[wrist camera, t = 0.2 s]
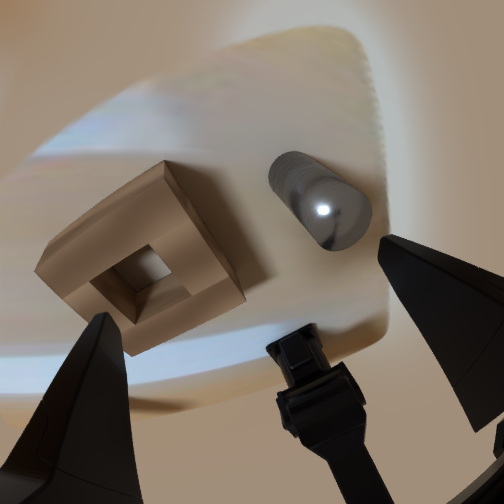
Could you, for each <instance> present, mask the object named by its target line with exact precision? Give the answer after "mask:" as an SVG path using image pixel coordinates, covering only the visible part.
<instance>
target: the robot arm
mask: <svg viewBox="0 0 504 504" xmlns="http://www.w3.org/2000/svg"><path fill="white" fill-rule="evenodd" d="M378 262H379V264H380V266H381V268H382V269H383V271H384V273H385V275H386V277H387V278H388V280H389V282H390V284H391V286H392V287H393V289H394V291H395V293H396V295H397V296H398V298H399V300H400V301H401V303H402V304H403V306H404V307H405V309H406V310H407V312H408V313H409V315H410V316H411V318H412V320H413V321H414V323H415V324H416V326H417V327H418V328H419V330H420V332H421V334H422V335H423V337H424V339H425V340H426V342H427V344H428V345H429V347H430V349H431V350H432V352H433V354H434V355H435V357H436V359H437V361H438V362H439V364H440V366H441V368H442V369H443V371H444V373H445V375H446V377H447V378H448V380H449V382H450V384H451V386H452V387H453V390H454V392H455V394H456V396H457V398H458V399H459V401H460V403H461V405H462V407H463V409H464V411H465V414H466V416H467V418H468V420H469V422H470V424H471V426H472V428H473V430H474V432H475V433H476V432H478V431H479V430H480V429H482V428H483V427H485V426H486V425H487V424H488V423H490V422H491V421H492V420H494V419H495V418H496V417H497V416H499V415H500V414H501V413H503V412H504V277H501V276H499V275H497V274H494V273H492V272H489V271H487V270H484V269H482V268H480V267H479V268H478V267H477V266H475V265H472V264H470V263H467V262H465V261H462V260H460V259H457V258H455V257H452V256H450V255H447V254H445V253H442V252H439V251H437V250H434V249H432V248H429V247H426V246H424V245H421V244H418V243H415V242H413V241H410V240H407V239H404V238H401V237H399V236H396V235H393V234H390V235H386V236H383V237H382V238H381V239H380V244H379V250H378ZM322 348H323V346H322V344H321V342H320V339H319V337H318V335H317V333H316V331H315V328H314V326H313V325H312V324H309V325H307V326H305V327H303V328H301V329H299V330H297V331H296V332H294V333H292V334H290V335H288V336H286V337H284V338H282V339H280V340H278V341H276V342H274V343H272V344H270V345H268V346H267V347H266V351H267V352H268V354H269V355H270V356H271V357H272V358H273V360H274V361H275V362H276V363H277V364H278V365H279V367H280V368H281V371H282V373H283V375H284V378H285V380H286V383H287V385H288V387H289V388H288V389H286V390H284V391H282V392H281V391H280V392H278V393H277V396H278V398H277V399H276V402H277V405H278V407H279V410H280V414H281V420H282V425H283V428H284V429H285V430H288V431H289V432H290V433H291V434H292V435H293V436H294V437H295V438H297V437H299V439H300V441H301V443H302V445H303V446H305V447H306V448H308V449H309V450H311V451H312V452H314V453H315V454H317V455H318V456H320V457H321V458H323V459H325V460H326V461H327V462H328V464H329V467H330V469H331V471H332V473H333V476H334V478H335V480H336V482H337V484H338V487H339V489H340V491H341V493H342V495H343V498H344V500H345V502H346V504H394V502H393V500H392V498H391V496H390V494H389V492H388V490H387V488H386V486H385V484H384V482H383V480H382V478H381V476H380V474H379V472H378V470H377V468H376V466H375V464H374V462H373V460H372V458H371V456H370V455H369V452H368V450H367V448H366V446H365V444H364V442H365V433H366V420H367V419H366V417H367V416H366V412H365V410H364V408H363V406H364V405H366V401H365V398H364V396H363V393H362V391H361V389H360V387H359V386H358V384H357V383H356V381H355V379H354V378H353V376H352V375H351V373H350V372H349V370H348V369H347V367H346V366H345V364H344V363H343V362H340V363H339V364H338V365H336V366H334V367H332V368H331V366H330V364H329V362H328V360H327V358H326V357H325V355H324V353H323V351H322ZM493 453H494V455H495V457H496V459H497V460H496V461H495V462H494V463H493V464H492V465H491V466H490V467H489V468H488V469H487V470H486V471H485V472H484V473H482V474H481V475H480V476H479V477H478V478H477V479H476V480H475V481H474V482H472V483H471V484H470V485H469V486H468V487H467V488H466V489H464V490H463V491H462V492H461V493H459V494H458V495H457V496H456V497H454V498H453V499H452V500H451V501H449V502H448V503H447V504H504V418H503V419H502V420H501V421H500V422H499V423H498V424H497V429H496V437H495V443H494V450H493ZM0 504H143V499H142V495H141V490H140V485H139V479H138V474H137V468H136V462H135V455H134V448H133V441H132V432H131V422H130V411H129V399H128V383H127V373H126V367H125V360H124V352H123V345H122V336H121V332H120V329H119V327H118V326H117V324H116V323H115V321H114V320H113V318H112V316H111V315H110V313H109V312H106V311H105V312H101V313H97V314H95V315H94V317H93V318H92V320H91V321H90V323H89V324H88V326H87V327H86V328H85V330H84V331H83V333H82V334H81V336H80V337H79V339H78V340H77V342H76V344H75V345H74V347H73V348H72V350H71V351H70V353H69V354H68V356H67V358H66V359H65V361H64V362H63V364H62V366H61V367H60V369H59V371H58V372H57V374H56V376H55V377H54V379H53V381H52V382H51V384H50V386H49V387H48V389H47V391H46V393H45V394H44V396H43V398H42V400H41V401H40V403H39V405H38V407H37V409H36V410H35V412H34V414H33V416H32V418H31V419H30V421H29V423H28V425H27V426H26V428H25V429H24V431H23V433H22V435H21V437H20V438H19V439H18V441H17V443H16V444H15V446H14V448H13V449H12V452H11V453H10V455H9V456H8V458H7V460H6V461H5V463H4V464H3V465H2V467H1V468H0Z"/></svg>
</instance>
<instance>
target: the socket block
mask: <svg viewBox="0 0 504 504" xmlns="http://www.w3.org/2000/svg"><path fill="white" fill-rule="evenodd" d="M147 244H149V245H150V246H151V247H152V248H153V250H154V251H155V252H156V253H157V255H158V256H159V257H160V258H161V259H162V261H163V262H164V263H165V264H166V266H167V267H168V268H169V269H170V270H171V272H172V273H171V274H169V275H167V276H165V277H164V278H162V279H160V280H158V281H157V282H155V283H153V284H151V285H149V286H148V287H146V288H144V289H142V290H141V291H139V292H137V293H136V292H135V291H134V290H133V289H132V288H131V287H130V286H129V285H128V284H127V283H126V282H125V281H124V279H123V278H122V277H121V276H120V275H119V274H118V273H117V272H116V271H115V270H114V269H113V268H112V266H113V265H115V264H116V263H118V262H120V261H121V260H123V259H124V258H126V257H127V256H129V255H131V254H132V253H134V252H136V251H137V250H139V249H140V248H142V247H144V246H145V245H147ZM34 272H35V273H36V274H37V275H38V276H39V277H40V278H41V279H42V280H43V281H44V282H45V283H46V284H47V285H48V286H49V287H50V288H51V289H52V290H53V291H54V292H55V293H56V294H57V295H58V296H59V297H60V298H61V299H62V300H63V301H64V302H65V303H66V304H68V305H69V306H70V307H71V308H72V309H73V310H74V311H75V312H76V313H78V314H79V315H80V316H81V317H82V318H83V319H84V320H86V321H87V322H88V323H90V321H91V320H92V318H93V317H94V315H95V314H97V313H101V312H105V311H106V312H109V313H110V315H111V316H112V318H113V320H114V321H115V323H116V324H117V326H118V327H119V329H120V332H121V336H122V345H123V351H124V352H126V353H127V354H129V355H130V356H131V357H133V356H135V355H138V354H140V353H142V352H144V351H146V350H148V349H151V348H153V347H155V346H157V345H159V344H161V343H163V342H166V341H168V340H170V339H172V338H174V337H176V336H178V335H180V334H182V333H184V332H186V331H188V330H191V329H193V328H195V327H197V326H199V325H201V324H203V323H205V322H207V321H209V320H211V319H213V318H215V317H217V316H219V315H221V314H223V313H225V312H227V311H229V310H231V309H233V308H235V307H237V306H239V305H240V304H242V303H244V302H246V298H245V296H244V293H243V290H242V288H241V285H240V282H239V280H238V277H237V274H236V272H235V270H234V268H233V267H232V265H231V264H230V262H229V261H228V259H227V258H226V256H225V255H224V253H223V252H222V250H221V249H220V247H219V246H218V244H217V242H216V241H215V239H214V238H213V236H212V235H211V233H210V232H209V230H208V229H207V227H206V225H205V224H204V222H203V221H202V219H201V218H200V216H199V215H198V213H197V211H196V210H195V208H194V207H193V205H192V204H191V202H190V200H189V199H188V197H187V196H186V194H185V192H184V191H183V189H182V188H181V186H180V185H179V183H178V181H177V180H176V178H175V177H174V175H173V173H172V172H171V170H170V169H169V167H168V165H167V164H166V162H165V160H163V161H162V162H160V163H158V164H157V165H155V166H153V167H152V168H150V169H149V170H147V171H145V172H144V173H142V174H141V175H139V176H138V177H136V178H135V179H133V180H131V181H130V182H128V183H127V184H125V185H124V186H122V187H121V188H120V189H118V190H117V191H115V192H114V193H112V194H111V195H109V196H108V197H107V198H105V199H104V200H102V201H101V202H100V203H98V204H97V205H95V206H94V207H93V208H91V209H90V210H89V211H87V212H86V213H85V214H83V215H82V216H81V217H79V218H78V219H77V220H76V221H74V222H73V223H72V224H70V225H69V226H68V227H67V228H65V229H64V230H63V231H62V232H60V233H59V234H58V235H57V236H56V237H54V238H53V239H52V240H51V241H50V242H49V243H48V245H47V247H46V248H45V250H44V252H43V254H42V256H41V258H40V260H39V262H38V264H37V266H36V268H35V271H34Z"/></svg>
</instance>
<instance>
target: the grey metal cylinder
mask: <svg viewBox="0 0 504 504" xmlns="http://www.w3.org/2000/svg"><path fill="white" fill-rule="evenodd" d="M268 178H269V184H270V187H271V188H272V190H273V191H274V192H275V193H276V195H277V196H278V197H279V198H280V199H281V200H282V201H283V203H284V204H285V205H286V206H287V207H288V208H289V209H290V211H291V212H292V213H293V214H294V215H295V216H296V218H297V219H298V220H299V221H300V222H301V224H302V225H303V226H304V227H305V228H306V229H307V231H308V232H309V233H310V234H311V235H312V237H313V238H314V239H315V240H316V242H317V243H318V244H319V245H320V246H321V247H322V248H324V249H326V250H329V251H340V250H344V249H346V248H349V247H351V246H352V245H354V244H355V243H356V242H357V241H358V240H360V239H361V237H362V236H363V235H364V234H365V232H366V231H367V229H368V227H369V224H370V222H371V217H372V207H371V203H370V201H369V199H368V198H367V197H366V196H365V195H364V194H363V193H361V192H360V191H358V190H357V189H356V188H354V187H353V186H352V185H350V184H349V183H347V182H346V181H344V180H343V179H342V178H340V177H339V176H337V175H336V174H334V173H333V172H331V171H330V170H328V169H327V168H325V167H324V166H322V165H321V164H319V163H318V162H316V161H315V160H313V159H312V158H310V157H309V156H307V155H306V154H304V153H302V152H297V151H291V152H287V153H284V154H282V155H281V156H279V157H278V158H277V159H276V160H275V161H274V162H273V164H272V166H271V168H270V170H269V176H268Z"/></svg>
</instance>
